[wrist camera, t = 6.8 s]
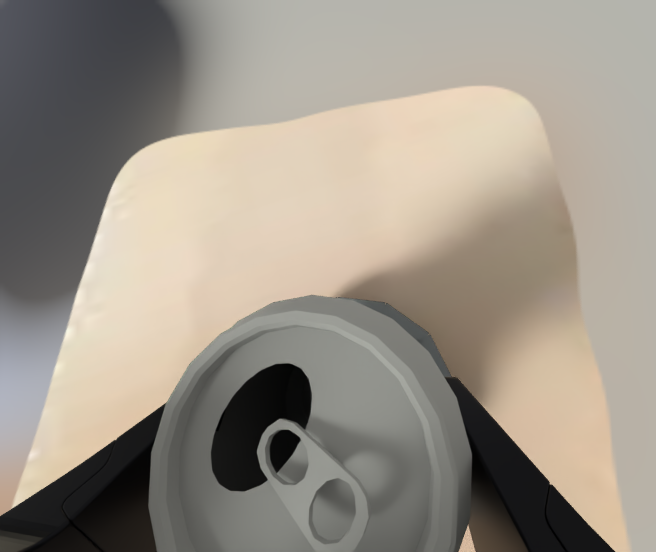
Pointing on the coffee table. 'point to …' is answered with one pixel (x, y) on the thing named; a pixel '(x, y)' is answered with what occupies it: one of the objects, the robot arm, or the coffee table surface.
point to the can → (311, 440)
